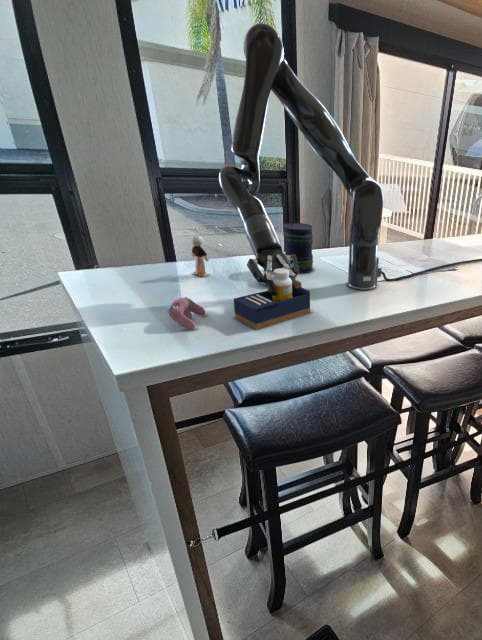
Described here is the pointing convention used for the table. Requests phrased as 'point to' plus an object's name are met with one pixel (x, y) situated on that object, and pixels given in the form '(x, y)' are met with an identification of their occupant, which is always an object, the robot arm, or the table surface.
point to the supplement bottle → (282, 285)
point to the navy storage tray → (271, 308)
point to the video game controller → (185, 312)
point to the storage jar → (299, 245)
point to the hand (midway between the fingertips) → (285, 292)
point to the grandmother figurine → (199, 256)
